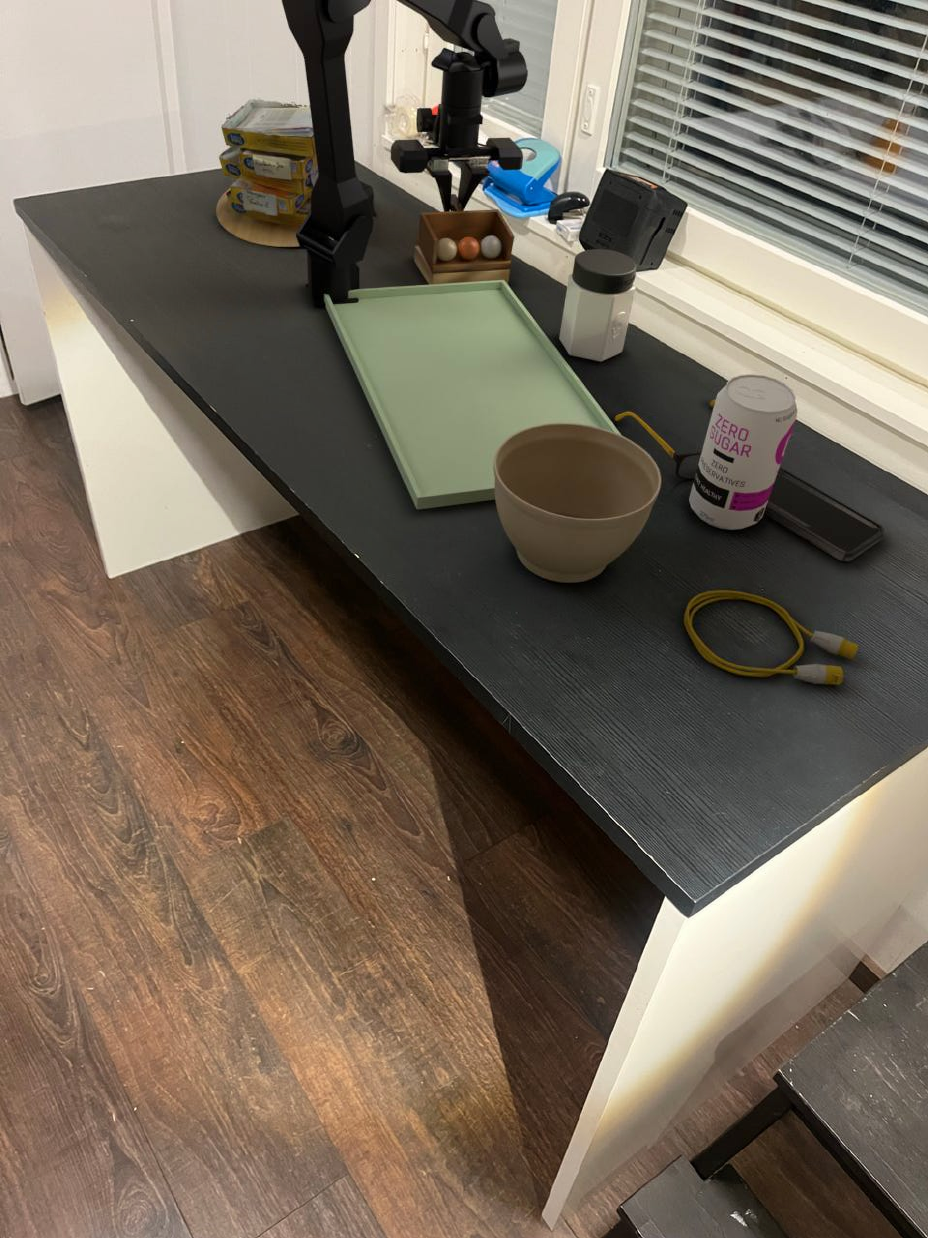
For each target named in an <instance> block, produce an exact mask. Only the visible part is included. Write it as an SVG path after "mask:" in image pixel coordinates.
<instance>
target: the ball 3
mask: <svg viewBox="0 0 928 1238" xmlns="http://www.w3.org/2000/svg"><path fill="white" fill-rule="evenodd" d="M501 249H502V245H501V242H500V240H499V239H498V238H497V237H495V236H487V237H485V238H484V239H483V240H482V242H481V244H480V250H481V253H482V254H483V256H484V257H486V258H489V259H493V258H496V257H497V256H498V255H499V254H500V252H501Z"/></svg>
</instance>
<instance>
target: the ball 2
mask: <svg viewBox="0 0 928 1238" xmlns="http://www.w3.org/2000/svg"><path fill="white" fill-rule="evenodd" d="M458 253H459V255H460V256H461V257H462V258H463V259H466V260H472V259H474V258H475V257H476V256H477V255H478V253H479V244H478V242H477V241H476V239H474V238H472V237H465V238H463V239H462V240H461V241H460V242H459V244H458Z"/></svg>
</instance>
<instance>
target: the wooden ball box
mask: <svg viewBox="0 0 928 1238" xmlns="http://www.w3.org/2000/svg"><path fill="white" fill-rule="evenodd" d="M487 236H495V237H497V238H498V239H499V240H500V242H501V245H502V249H501V252H500V254H499V255H498V256H497V257H496V258H493V259H489V258H486V257H484V256H483V254H482V253H481V250H480V244H481V242H482V240H483V239H484V238H485V237H487ZM465 237H472V238H474V239H476V241H477V242H478V244H479V253H478V255H477V256H476V257H475V258H474V259H472V260H466V259H463V258H462V257H461V256H460V255H459V253H458V244H459V242H460V241H461V240H462V239H463V238H465ZM442 238H449V239H451V240H453V241H454V242H455V244H456V247H457V253H456V255H455V257H454V258H453V259H452V260H450V261H442V260H440V259H439V258H438V257H437V248H438V241H439V240H440V239H442ZM514 241H515V234H514V233H513V231H512V230H511V227H510V226H509V225H508V223H507V222H506V220H505V218H504V216H503V215H502V213H501V211H500V210H499V209H498V208H497V209H496V208H495V209H494V208H493V209H475V210H471V209H469V210H464V211H463V210H462V208H461V203H460V201H459V199H458V195H457V194H456V193H451V206H450V211H447V212H444V211H428V212H420V215H419V226H418V237H417V246H419V247H420V249H421V251H422V254H423V256H424V258H425V260H426V262H427V264H428V266H429V268H430V270H431V272H432V274H442V273H458V272H475V271H491V270H507V269H510V270H511V269H512V260H511V259H512V252H513V247H514Z"/></svg>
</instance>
